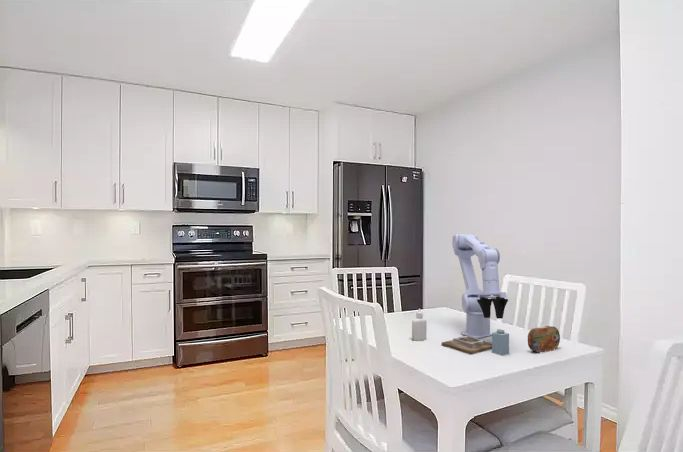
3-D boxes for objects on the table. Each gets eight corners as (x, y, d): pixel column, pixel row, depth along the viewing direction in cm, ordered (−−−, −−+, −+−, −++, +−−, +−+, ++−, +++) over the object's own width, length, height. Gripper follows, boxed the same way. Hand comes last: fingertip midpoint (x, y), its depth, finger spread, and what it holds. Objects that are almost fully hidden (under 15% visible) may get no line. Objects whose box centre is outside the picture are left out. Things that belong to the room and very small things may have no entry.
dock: (467, 339, 158) (467, 332, 158) (496, 347, 147) (496, 340, 147) (441, 345, 149) (441, 338, 149) (470, 354, 138) (470, 347, 138)
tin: (533, 354, 140) (533, 330, 140) (525, 351, 142) (525, 328, 143) (560, 348, 147) (561, 325, 147) (552, 346, 149) (553, 323, 149)
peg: (498, 350, 143) (499, 328, 143) (508, 353, 140) (509, 330, 140) (491, 352, 141) (492, 329, 141) (502, 355, 138) (502, 332, 138)
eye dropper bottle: (411, 337, 159) (412, 307, 159) (426, 338, 158) (426, 307, 158) (412, 340, 155) (412, 309, 155) (426, 341, 154) (427, 310, 154)
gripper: (512, 279, 144) (515, 318, 141) (488, 282, 158) (491, 317, 155) (495, 279, 142) (498, 318, 139) (472, 281, 156) (474, 317, 153)
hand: (493, 318), depth 147 cm, fingers open, 7 cm apart
